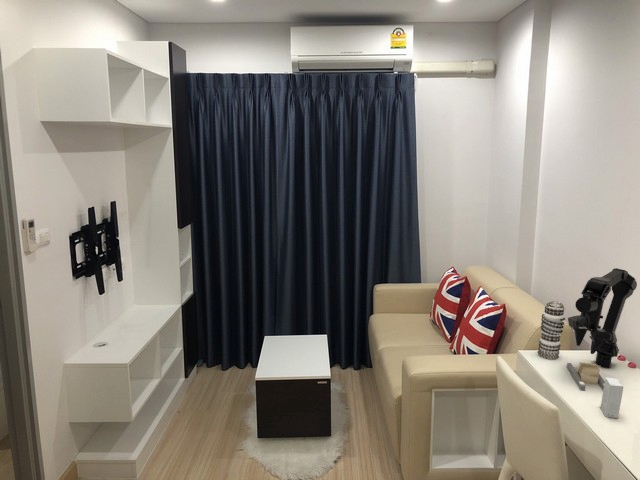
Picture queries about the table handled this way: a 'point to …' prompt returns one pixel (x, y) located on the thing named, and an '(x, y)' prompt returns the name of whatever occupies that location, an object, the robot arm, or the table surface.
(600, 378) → the chute
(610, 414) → the skincare box
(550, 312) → the banded tower model
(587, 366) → the block
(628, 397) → the table surface
